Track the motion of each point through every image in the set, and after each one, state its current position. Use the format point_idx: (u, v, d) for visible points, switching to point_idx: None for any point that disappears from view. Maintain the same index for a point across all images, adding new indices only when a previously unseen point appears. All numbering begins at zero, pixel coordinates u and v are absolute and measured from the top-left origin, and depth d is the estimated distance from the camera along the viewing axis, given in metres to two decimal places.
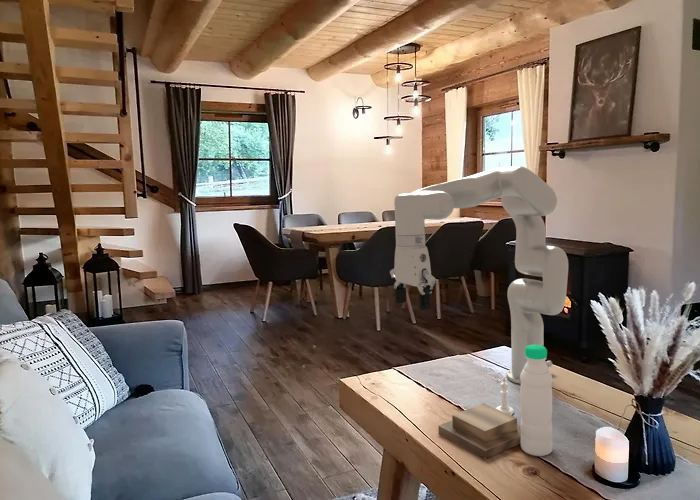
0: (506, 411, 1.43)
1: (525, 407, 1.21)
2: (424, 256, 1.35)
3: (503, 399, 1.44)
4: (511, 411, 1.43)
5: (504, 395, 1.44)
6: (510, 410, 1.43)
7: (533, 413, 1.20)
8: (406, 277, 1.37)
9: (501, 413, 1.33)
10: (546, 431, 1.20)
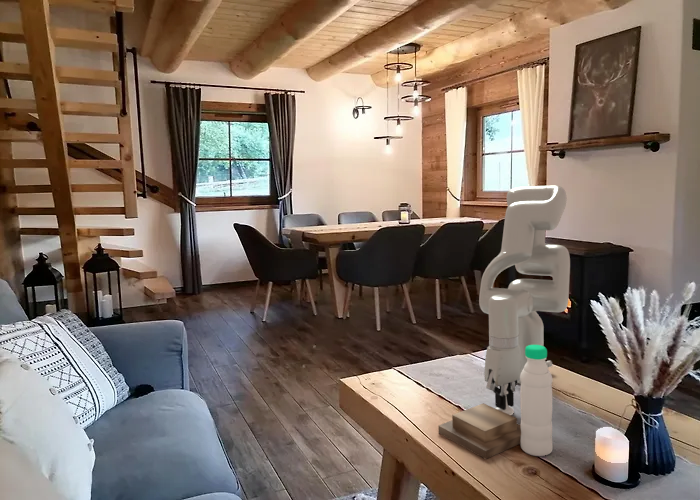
0: (506, 411, 1.43)
1: (525, 407, 1.21)
2: None
3: None
4: (511, 411, 1.43)
5: None
6: (510, 410, 1.43)
7: (533, 413, 1.20)
8: (512, 375, 1.42)
9: (501, 413, 1.33)
10: (546, 431, 1.20)
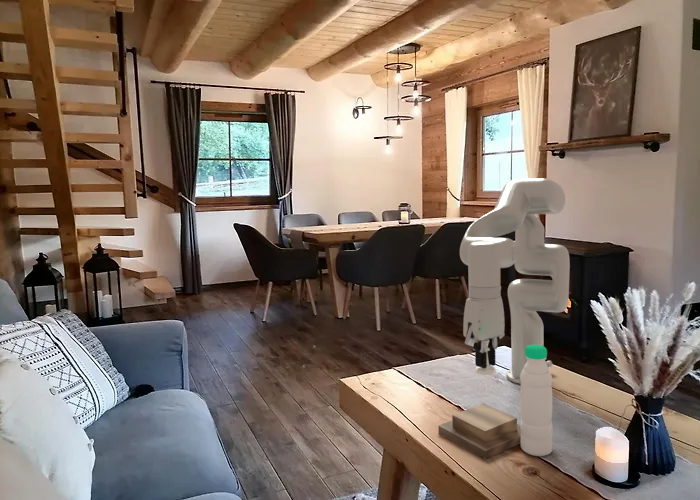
0: (487, 370, 1.29)
1: (525, 407, 1.21)
2: None
3: None
4: (493, 370, 1.30)
5: None
6: (491, 369, 1.30)
7: (533, 413, 1.20)
8: (493, 330, 1.29)
9: (501, 413, 1.33)
10: (546, 431, 1.20)
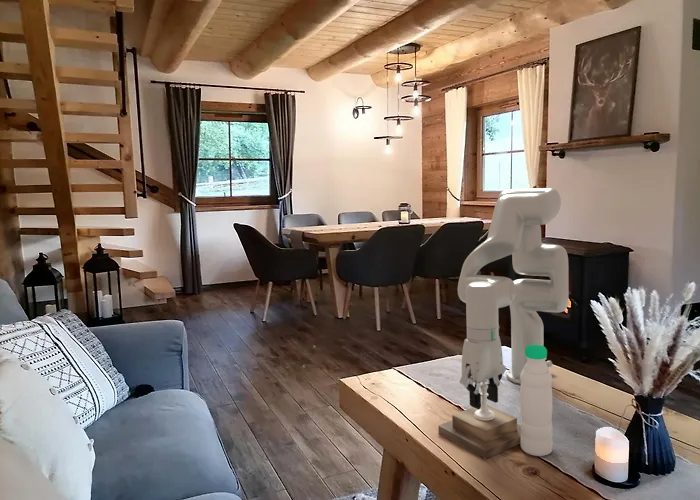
0: (486, 415, 1.30)
1: (525, 407, 1.21)
2: None
3: (483, 402, 1.31)
4: (491, 415, 1.30)
5: (484, 398, 1.31)
6: (490, 414, 1.30)
7: (533, 413, 1.20)
8: (492, 370, 1.29)
9: (501, 413, 1.33)
10: (546, 431, 1.20)
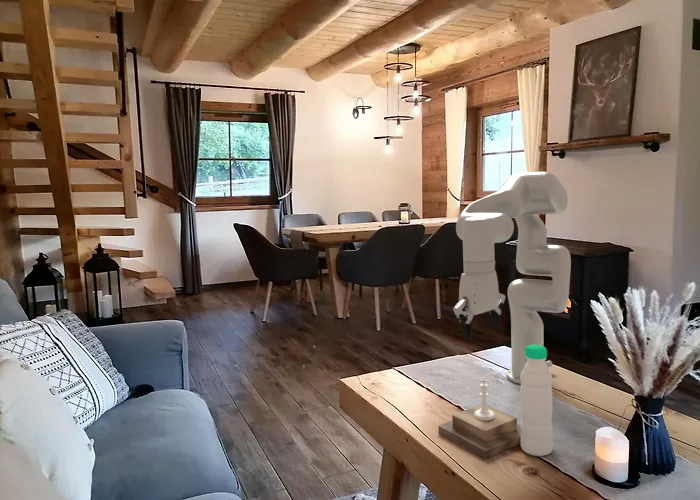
0: (486, 415, 1.30)
1: (525, 407, 1.21)
2: None
3: (483, 402, 1.31)
4: (491, 415, 1.30)
5: (484, 398, 1.31)
6: (490, 414, 1.30)
7: (533, 413, 1.20)
8: (488, 304, 1.31)
9: (501, 413, 1.33)
10: (546, 431, 1.20)
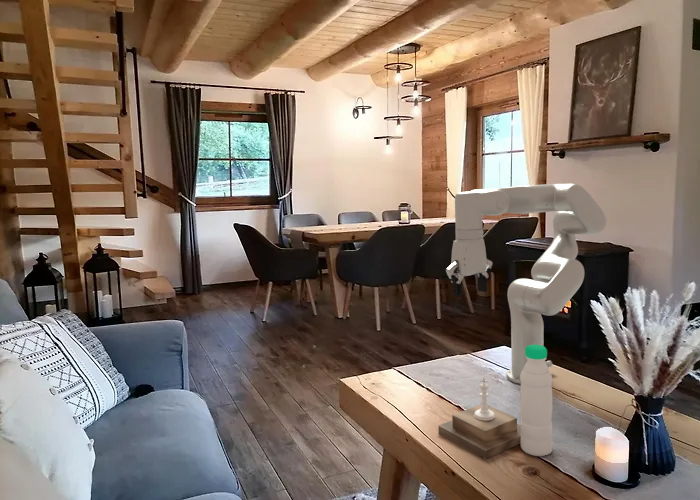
0: (486, 415, 1.30)
1: (525, 407, 1.21)
2: None
3: (483, 402, 1.31)
4: (491, 415, 1.30)
5: (484, 398, 1.31)
6: (490, 414, 1.30)
7: (533, 413, 1.20)
8: (477, 267, 1.51)
9: (501, 413, 1.33)
10: (546, 431, 1.20)
